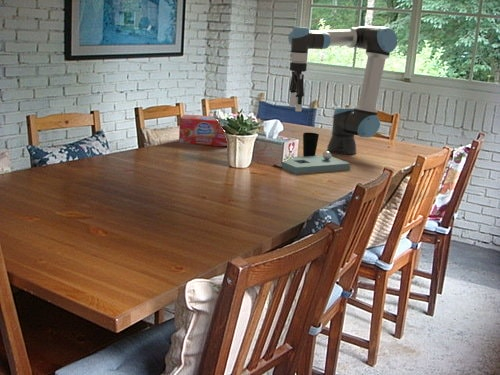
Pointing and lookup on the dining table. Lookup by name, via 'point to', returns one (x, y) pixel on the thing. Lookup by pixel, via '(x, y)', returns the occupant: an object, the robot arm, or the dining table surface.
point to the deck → (314, 164)
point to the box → (201, 131)
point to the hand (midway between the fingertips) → (295, 109)
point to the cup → (310, 144)
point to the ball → (326, 155)
